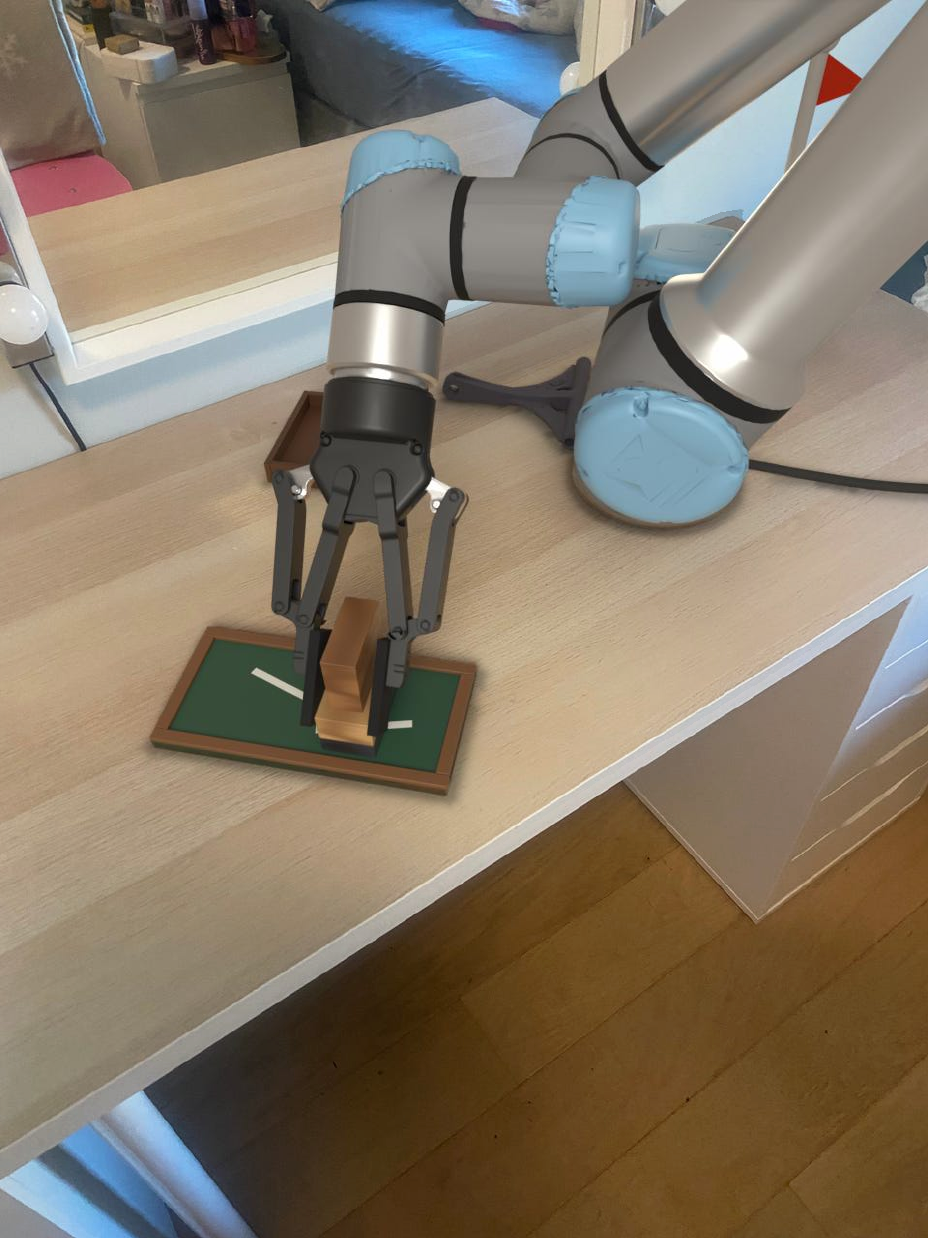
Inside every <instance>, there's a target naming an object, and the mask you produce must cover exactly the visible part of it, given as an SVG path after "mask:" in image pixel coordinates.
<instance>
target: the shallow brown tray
mask: <svg viewBox="0 0 928 1238" xmlns="http://www.w3.org/2000/svg"><path fill="white" fill-rule="evenodd" d="M323 394H324V391H317V390H315V391H314V390H313V391H312V390H303V392H302V394H301V395H300V397H299V399H298V401H297V403H296V404H295V406H294V408H293V409H292V412H291V413H290V415H289V417H288V419H287V421H286V422H285V424H284V426H283V428H282V430H281V431H280V433H279V435H278V437H277V439H276V440H275V442H274V444H273V446H272V447H271V449H270V451H269V453H268V455H267V457H266V459H265V460H264V461H263V467H264V471H265V475H266V479H267V483H271V484H272V481H271V476H272V473H273V472H274V471H276V470H278V469H281V470H284V471H290V470H293V469H296V468H300V467H303V466H306V465H309V464H310V460H311V458H312V456H313V455H314V453H315V452H316V450H317V448H318V445H319V435H320V423H321V413H322V404H323ZM311 488H314V489H319V488H318V486H317V484H316V482H315V481H314V482H313V484H312V486H311Z"/></svg>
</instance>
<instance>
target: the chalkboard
mask: <svg viewBox="0 0 928 1238" xmlns="http://www.w3.org/2000/svg"><path fill="white" fill-rule="evenodd" d="M295 640H296V638H293V637H286V636H279V635H271V634H266V633H265V634H264V633H258V632H251V631H243V630H237V629H229V628H223V627H214V626H209V625H208V626H206V628H205V630H204V632H203V633H202V635H201V637H200V639H199V641H198V643H197V645H196V647H195V649H194V651H193V653H192V655H191V657H190V658H189V660H188V662H187V664H186V666H185V668H184V670H183V672H182V674H181V676H180V678H179V679H178V681H177V683H176V685H175V687H174V688H173V691H172V693H171V695H170V697H169V698H168V701H167V702H166V704H165V706H164V707H163V710H162V711H161V714H160V716H159V718H158V719H157V721H156V724H155V726H154V728H153V730H152V732H151V733H150V735H149V740H150V743H151V745H152V747H153V748H154V749H160V750H166V751H172V752H178V753H184V754H189V755H195V756H201V757H209V758H214V759H218V760H219V759H220V760H226V761H232V762H239V763H244V764H250V765H255V766H260V767H261V766H262V767H268V768H274V769H281V770H286V771H292V772H297V773H304V774H309V775H315V776H322V777H326V778H327V777H329V778H334V779H339V780H345V781H346V780H347V781H352V782H357V783H364V784H369V785H377V786H381V787H388V788H395V789H400V790H405V791H413V792H418V793H424V794H429V795H436V796H442V797H447V796H448V793H449V789H450V785H451V781H452V776H453V772H454V770H455V769H454V767H455V765H456V761H457V760H456V759H457V756H458V752H459V748H460V744H461V740H462V735H463V731H464V727H465V723H466V719H467V715H468V711H469V707H470V702H471V699H472V695H473V690H474V686H475V683H476V679H477V664H473V663H465V662H459V661H452V660H445V659H439V658H432V657H425V656H417V655H410V664H409V673H408V679H407V681H406V683H405V685H404V686H402V687H400V688H397V691H396V694H395V697H394V700H393V704H392V707H391V710H390V713H389V722H388V730H387V731H386V732H384V733H383V736H382V739H381V743H380V746H379V749H378V752H377V756H376V758H372V757H366V756H360V755H354V754H347V753H341V752H335V751H329V750H323V749H322V747H321V743H320V739H319V735H318V731H317V727H316V725H314V726H312V727H307V726H300V719H301V709H302V700H303V691H304V681H305V675H302V674H295V672H294V669H293V659H294V652H295V651H294V650H295Z"/></svg>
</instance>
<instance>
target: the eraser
mask: <svg viewBox="0 0 928 1238" xmlns="http://www.w3.org/2000/svg"><path fill="white" fill-rule="evenodd" d="M385 637H386V636H385V635H384V630H383V625H382V615H381V609H380V601H379V600H376V599H370V598H369V599H368V598H362V597H354V596H348V595H347V596H344V598H343V602H342V604H341V606H340V609H339V612H338V614H337V617H336V620H335V622H334V624H333V627H332V632H331V635H330V637H329V640H328V642H327V645H326V648H325V650H324V653H323V655H322V658H321V660H320V666H321V671H322V675H323V680H324V684H325V691H324V694H323V696H322V699H321V702H320V704H319V707H318V710H317V712H316V715H315V722H316V727H317V731H318V735H319V739H320V743H321V747H322V749H323V750H329V751H335V752H341V753H347V754H354V755H360V756H366V757H372V758H376V756H377V752H378V749H379V746H380V743H381V739H382V736H383V734H381V735H380V736H379V737H373V736H367V729H368V720H369V711H370V702H371V692H372V683H373V674H374V665H375V656H376V647H377V639H381V638H385ZM396 691H397V688H396V687H392V695H391V704H390V710H391V707H392V704H393V700H394V697H395V694H396Z"/></svg>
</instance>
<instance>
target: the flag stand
mask: <svg viewBox="0 0 928 1238" xmlns="http://www.w3.org/2000/svg"><path fill="white" fill-rule="evenodd" d="M840 41H841V38H839V39H838V40H837V41H835V42H834V43H832V44H831V45H830V46H828V47H827V48H826V49H824V50H823V51H821V52H820V53H819V54H817V55H816V56H815V57H813V58H812V59H810V60H809V62H808V63H809V65H808V67H807V72H806V76H805V80H804V85H803V87H802V89H803V90H802V93H801V96H800V97H801V98H800V102H799V107H798V111H797V115H796V119H795V122H794V127H793V132H792V136H791V139H790V144H789V148H788V153H787V157H786V161H785V165H784V169H783V174H782V177H783V176H784V174H785V173H786V172H787V171H788V170H789V168H790V167H791V166H792V165H793V163H794V162H795V161H796V160H797V158H798V157H799V156H800V155H801V154H802V152H803V151H804V150H805V149H806V147H807V144H808V143H807V142H808V138H809V136H810V135H809V134H810V130H811V127H812V123H813V119H814V115H815V111H816V107H817V106H820V105H823V104H825V103H829V102H831V101H833V100H836V99H840V98H842V97H844V96H847V95H850V93H851V92H852V91H853V90H854V88H855V87H856V86H857V85H858V84H859V82H860V81H861V80H862V79H863V77H861V76H860V75H858V74H857V73H856V72H854V71H853V70H851V69H850V68H849V67H848V66H847V65H845V64H844V63H842V62H841V61H839V60H838V59H837V58H835V57H834V56H833V55H831V53H830V52H832V51H833V50H834V49H835V48H836V47H837V46H838V44H839V43H840Z"/></svg>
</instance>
